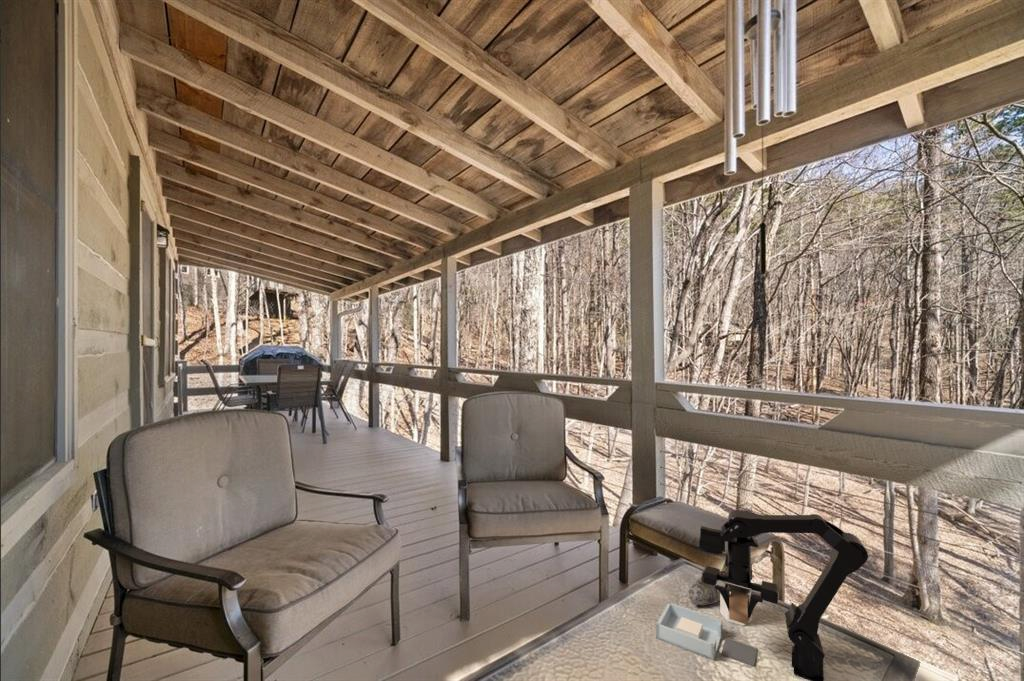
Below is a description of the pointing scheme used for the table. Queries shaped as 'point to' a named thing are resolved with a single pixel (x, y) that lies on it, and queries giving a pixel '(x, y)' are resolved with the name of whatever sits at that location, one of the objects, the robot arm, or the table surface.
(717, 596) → the mineral rock
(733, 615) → the walnut block
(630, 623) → the table surface
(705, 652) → the access box
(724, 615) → the jar
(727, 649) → the rubber mat
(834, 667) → the table surface
